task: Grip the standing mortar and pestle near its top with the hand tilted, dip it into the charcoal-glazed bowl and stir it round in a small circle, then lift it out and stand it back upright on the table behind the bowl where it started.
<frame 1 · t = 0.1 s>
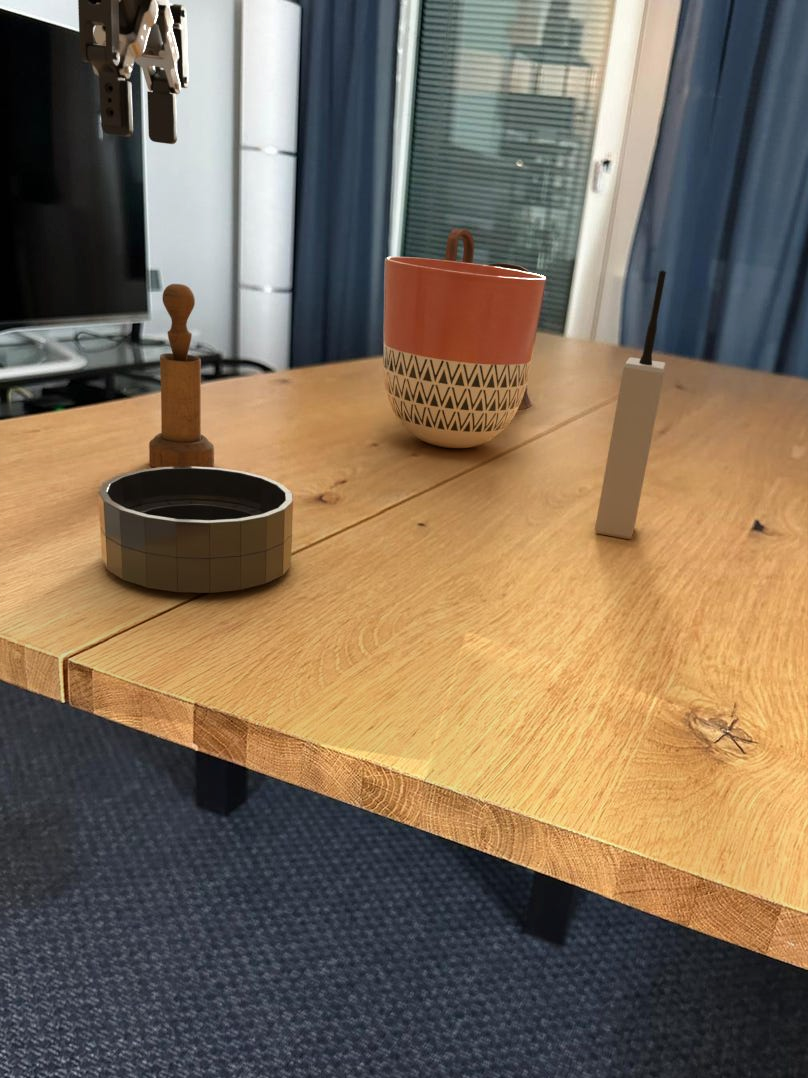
hand: (141, 139, 75), 30 cm above the table, tool pointing down, fingers open, 8 cm apart
planter: (448, 445, 120), on the table
vintage mobile phone: (614, 531, 95), on the table
bowl: (199, 564, 74), on the table
cup holder: (468, 400, 149), on the table
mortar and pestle: (182, 466, 98), on the table
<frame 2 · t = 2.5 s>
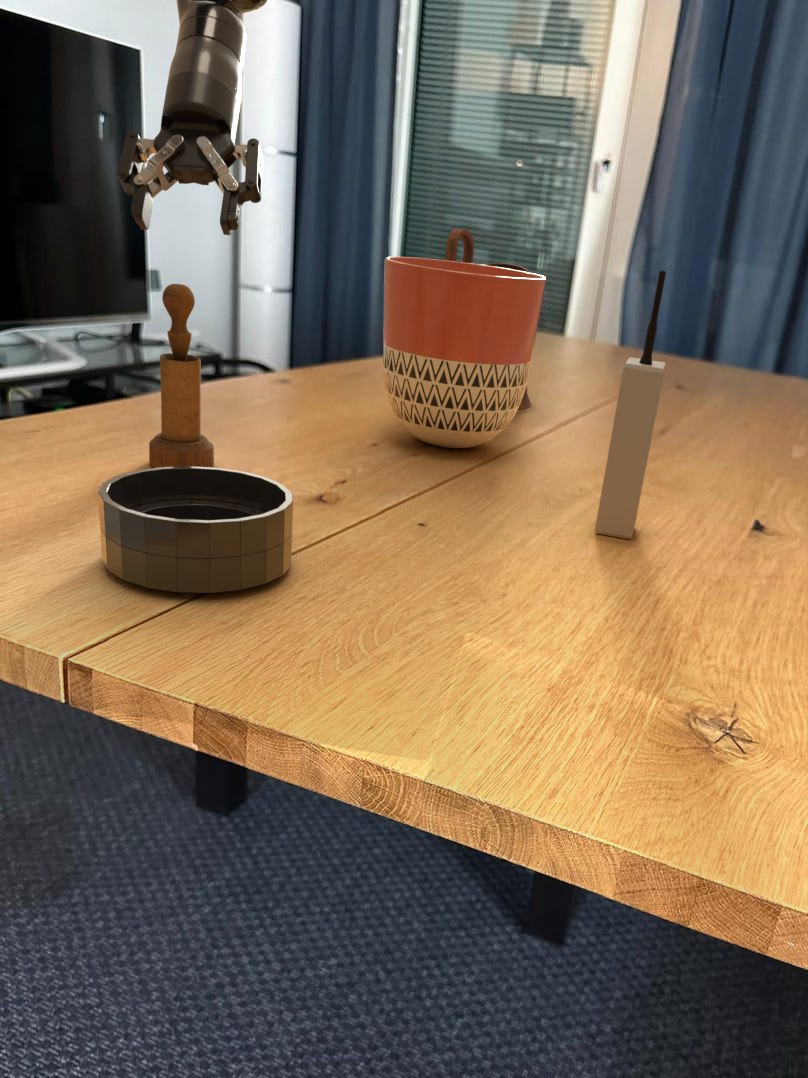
hand: (183, 227, 95), 23 cm above the table, tool tilted 40°, fingers open, 8 cm apart
nothing on the table moved.
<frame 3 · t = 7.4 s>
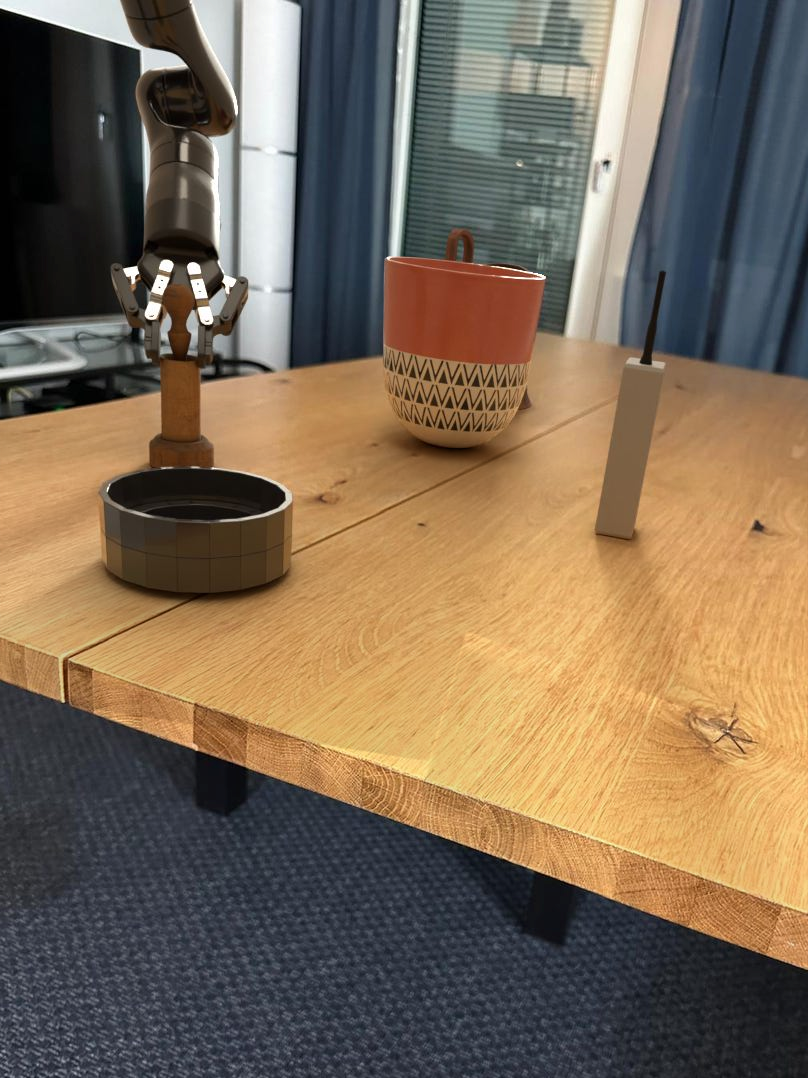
hand: (178, 361, 91), 11 cm above the table, tool tilted 45°, fingers closed on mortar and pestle, 3 cm apart
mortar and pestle: (182, 466, 98), on the table, touching gripper
everything else where it was.
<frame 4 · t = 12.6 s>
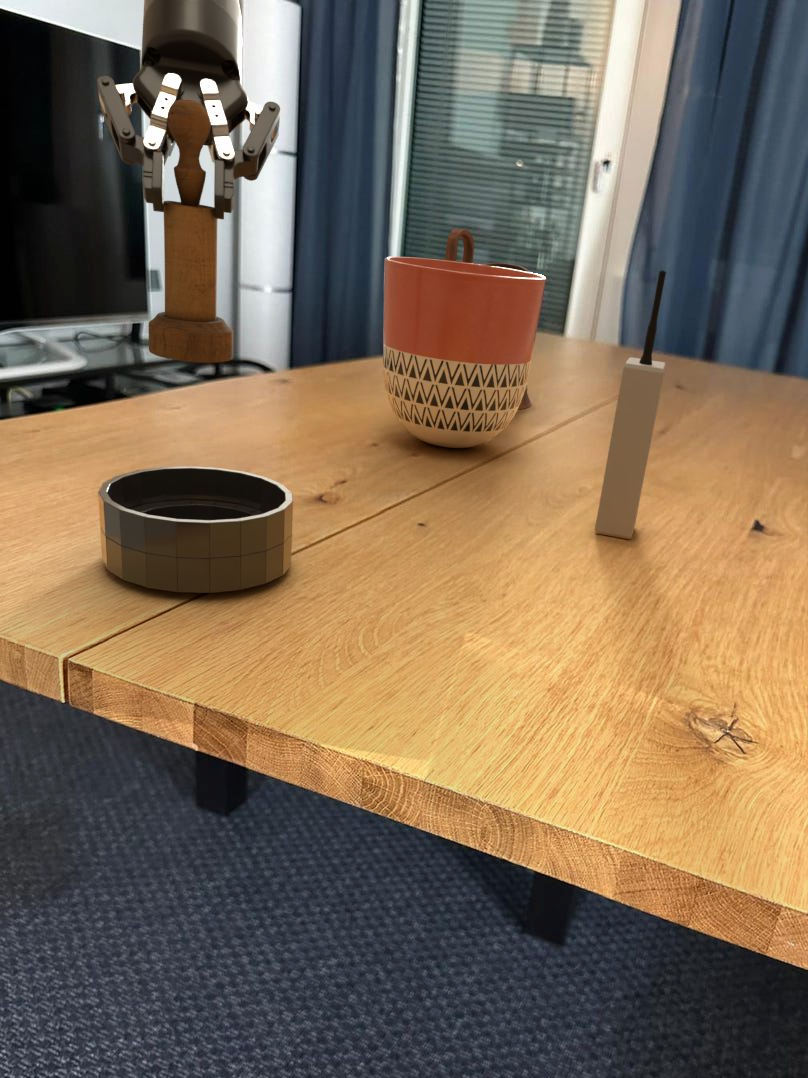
hand: (189, 206, 68), 26 cm above the table, tool tilted 45°, fingers closed on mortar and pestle, 3 cm apart
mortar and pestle: (191, 357, 75), point 15 cm above the table, touching gripper
everything else where it was.
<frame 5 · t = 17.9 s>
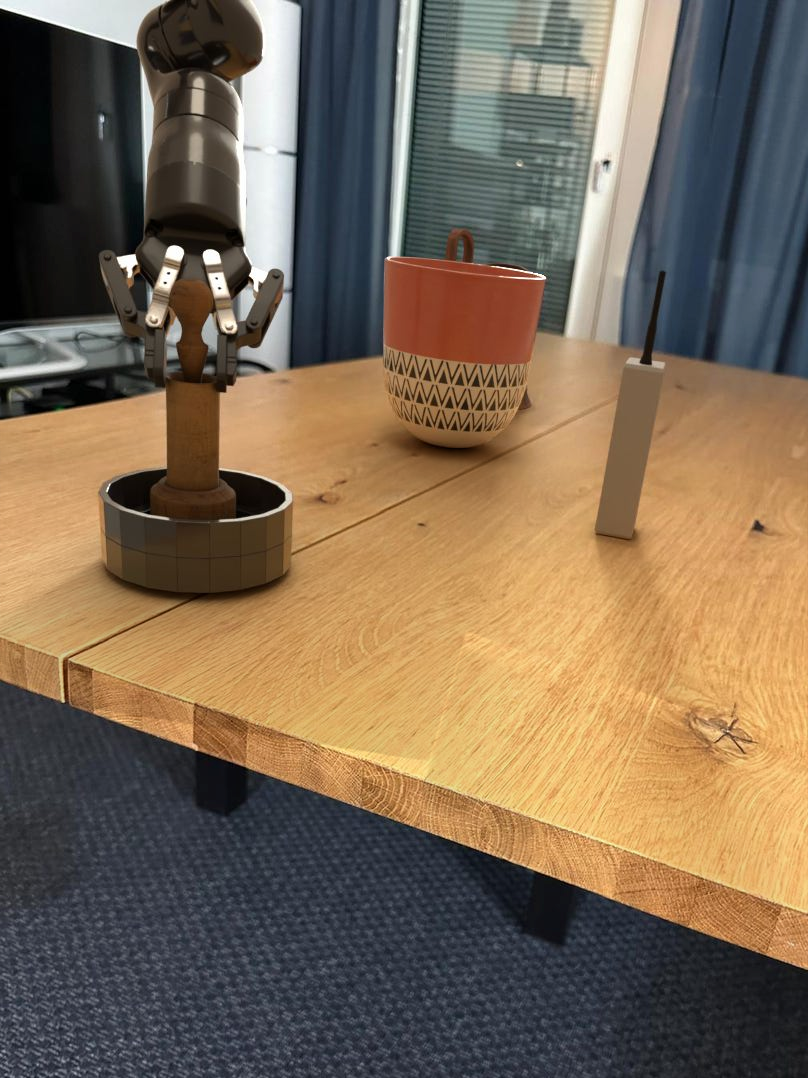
hand: (191, 383, 67), 14 cm above the table, tool tilted 45°, fingers closed on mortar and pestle, 3 cm apart
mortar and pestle: (193, 520, 74), point 3 cm above the table, touching gripper
everything else where it was.
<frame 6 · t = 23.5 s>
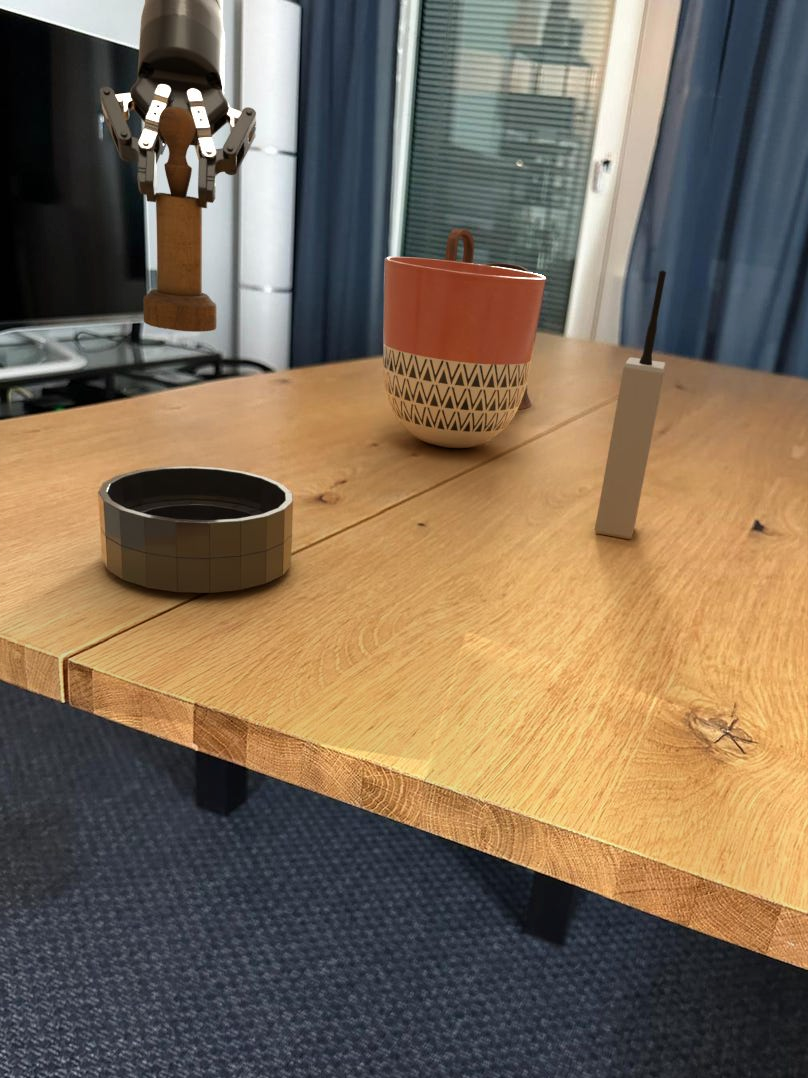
hand: (176, 197, 80), 26 cm above the table, tool tilted 45°, fingers closed on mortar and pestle, 3 cm apart
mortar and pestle: (180, 328, 87), point 15 cm above the table, touching gripper
everything else where it was.
when the fingers open (11 cm above the table, at t = 28.5 s): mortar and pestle stays where it is, on the table.
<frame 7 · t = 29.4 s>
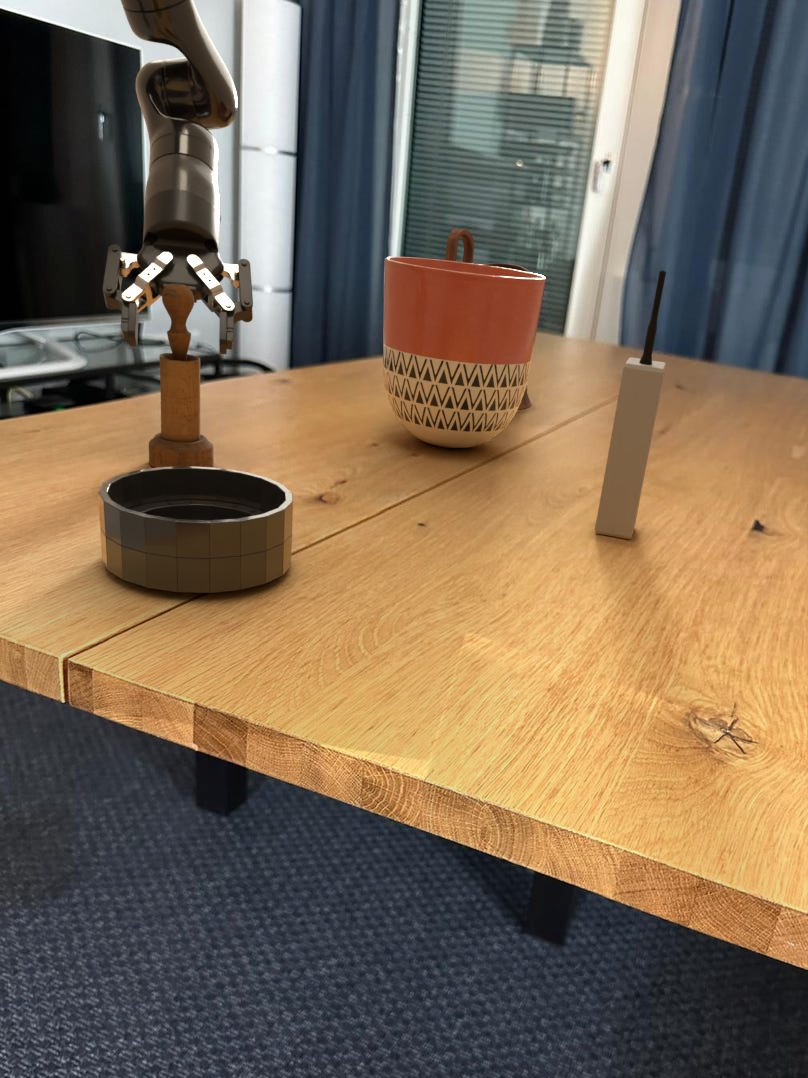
hand: (178, 345, 91), 12 cm above the table, tool tilted 45°, fingers open, 8 cm apart
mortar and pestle: (181, 466, 98), on the table
everything else where it was.
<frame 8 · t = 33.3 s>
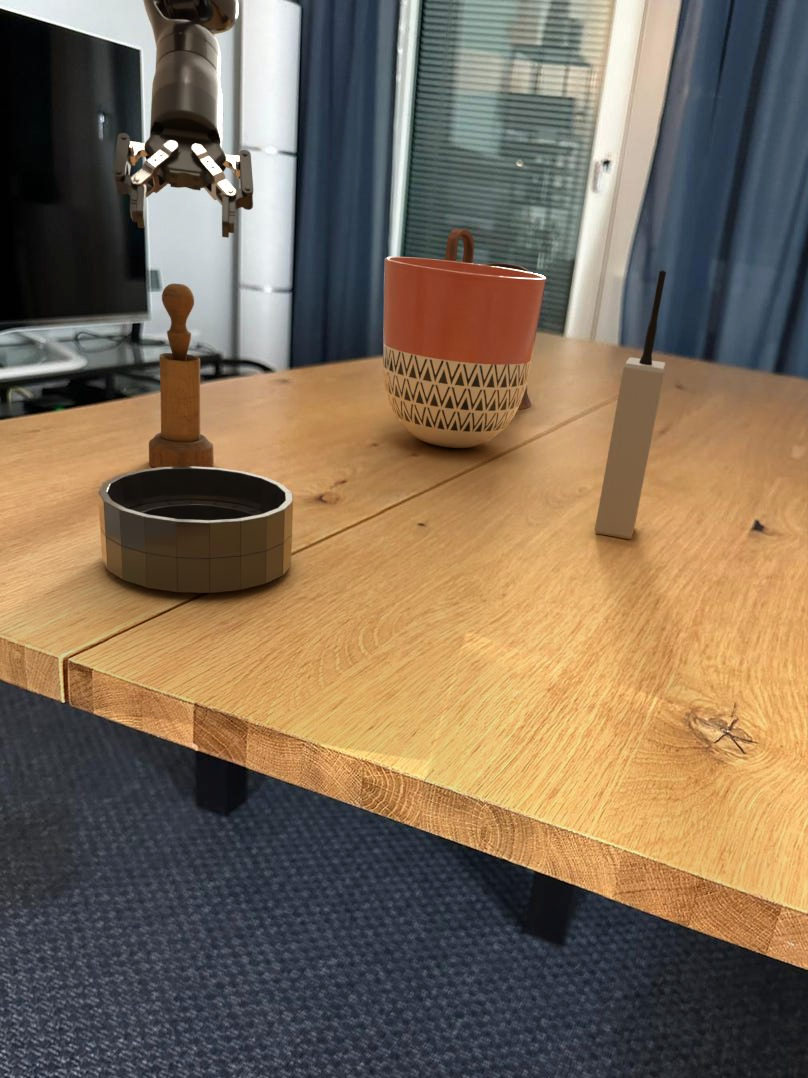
hand: (183, 227, 98), 23 cm above the table, tool tilted 45°, fingers open, 8 cm apart
nothing on the table moved.
at the end: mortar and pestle inside the target area on the table beside the bowl (0.1 cm from its centre), on the table; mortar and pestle tilted 0°; the gripper is holding nothing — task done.
